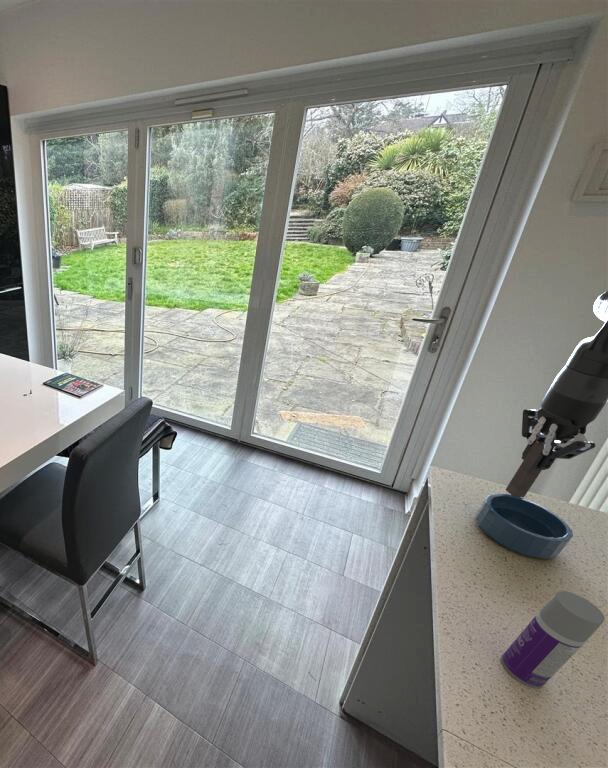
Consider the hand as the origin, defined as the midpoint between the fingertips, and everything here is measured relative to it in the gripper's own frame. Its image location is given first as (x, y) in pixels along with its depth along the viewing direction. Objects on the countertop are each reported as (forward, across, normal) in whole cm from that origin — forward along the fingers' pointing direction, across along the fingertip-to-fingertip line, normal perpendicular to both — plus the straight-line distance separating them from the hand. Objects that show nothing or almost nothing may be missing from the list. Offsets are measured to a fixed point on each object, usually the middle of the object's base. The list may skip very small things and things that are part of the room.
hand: (533, 464), depth 86 cm
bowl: (+12, -9, +5) cm, 16 cm away
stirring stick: (+8, 0, 0) cm, 8 cm away
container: (+12, -37, +25) cm, 46 cm away
